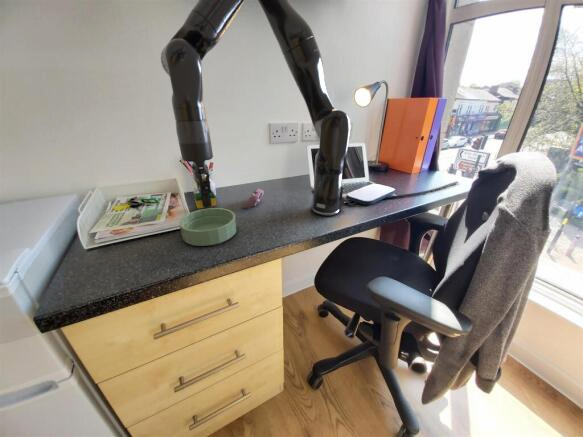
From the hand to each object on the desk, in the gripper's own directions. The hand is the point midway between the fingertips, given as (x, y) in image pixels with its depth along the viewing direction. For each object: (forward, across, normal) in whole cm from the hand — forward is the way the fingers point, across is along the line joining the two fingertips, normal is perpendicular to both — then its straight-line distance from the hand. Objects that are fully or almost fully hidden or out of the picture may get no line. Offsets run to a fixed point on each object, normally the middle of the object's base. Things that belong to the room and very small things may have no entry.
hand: (206, 203), depth 66 cm
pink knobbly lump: (+10, +15, -19) cm, 26 cm away
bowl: (+9, -1, 0) cm, 9 cm away
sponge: (0, 0, 0) cm, 0 cm away
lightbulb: (+10, +19, -3) cm, 22 cm away
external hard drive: (+10, +3, -66) cm, 66 cm away
